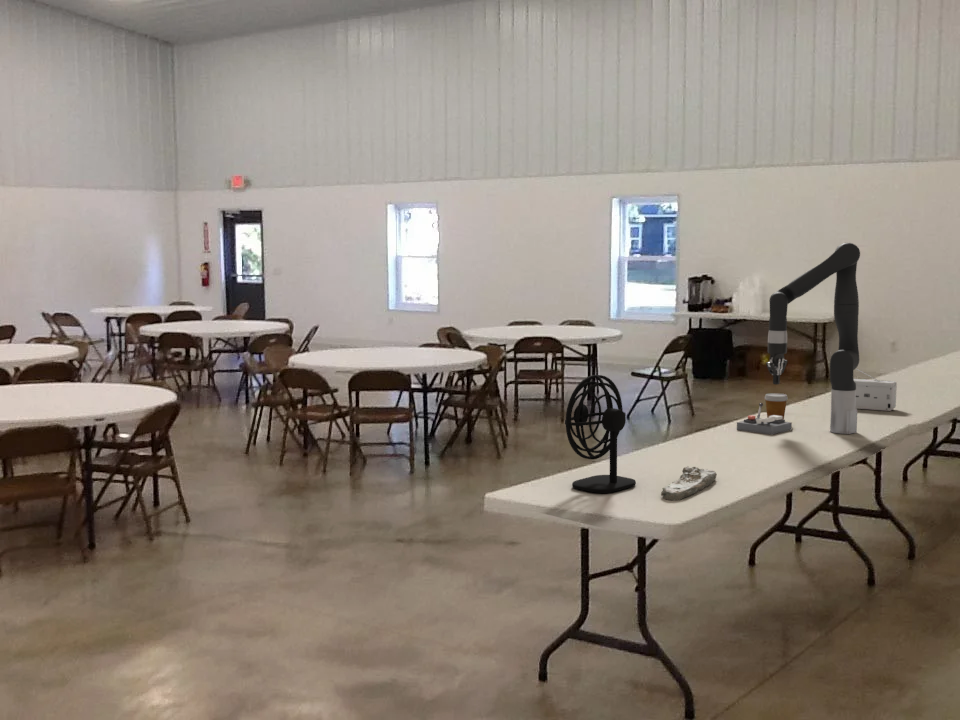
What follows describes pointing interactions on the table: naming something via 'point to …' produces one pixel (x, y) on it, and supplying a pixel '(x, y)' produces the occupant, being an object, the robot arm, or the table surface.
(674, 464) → the table surface
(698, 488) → the long grey stone
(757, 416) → the toggle
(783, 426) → the panel
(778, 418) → the paddle
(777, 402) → the disposable coffee cup
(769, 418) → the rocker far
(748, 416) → the button
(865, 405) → the stereo radio cassette player
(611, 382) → the desk fan
